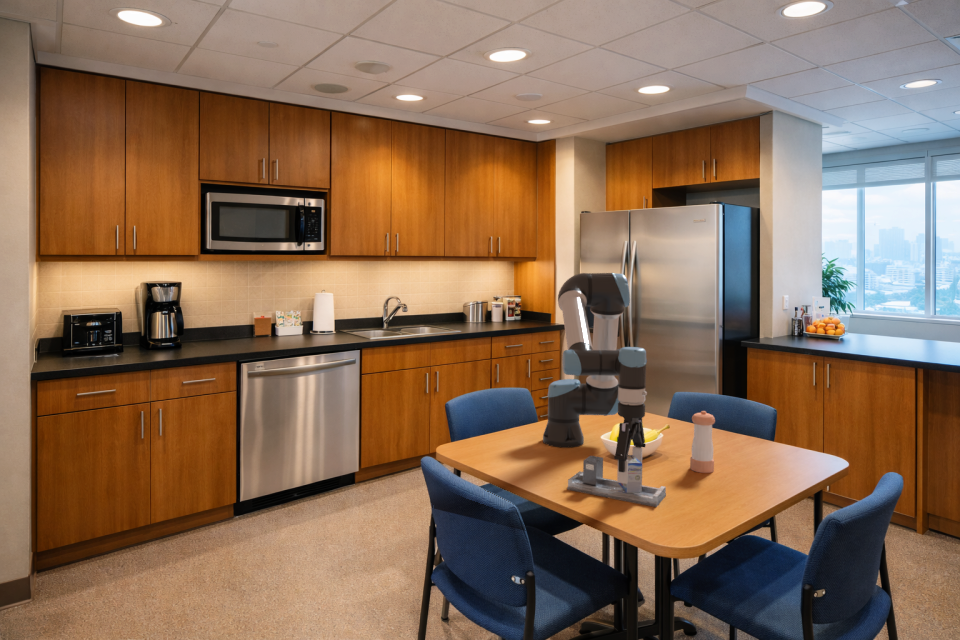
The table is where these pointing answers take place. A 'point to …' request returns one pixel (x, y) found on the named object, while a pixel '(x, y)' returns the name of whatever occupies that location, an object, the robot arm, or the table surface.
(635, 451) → the robot arm
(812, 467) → the table surface
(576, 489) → the rail
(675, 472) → the table surface
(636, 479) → the medicine box
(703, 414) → the pepper shaker
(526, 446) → the table surface
